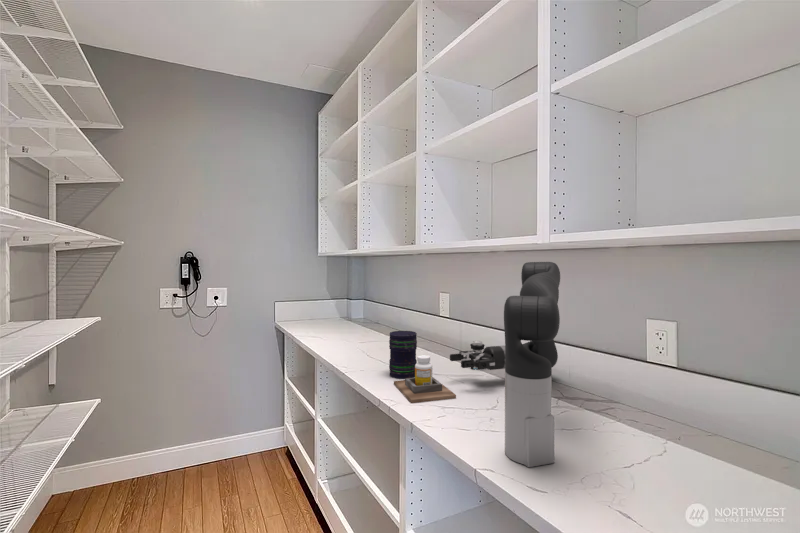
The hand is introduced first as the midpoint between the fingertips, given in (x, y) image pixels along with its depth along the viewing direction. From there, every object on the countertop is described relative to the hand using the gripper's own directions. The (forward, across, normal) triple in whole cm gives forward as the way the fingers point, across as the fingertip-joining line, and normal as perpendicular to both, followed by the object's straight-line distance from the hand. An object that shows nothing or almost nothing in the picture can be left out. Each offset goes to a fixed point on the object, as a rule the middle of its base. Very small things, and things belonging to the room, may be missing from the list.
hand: (455, 361), depth 125 cm
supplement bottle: (+11, 0, +8) cm, 13 cm away
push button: (-18, -18, +9) cm, 27 cm away
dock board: (+11, 0, +8) cm, 14 cm away
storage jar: (+12, -18, +9) cm, 23 cm away
